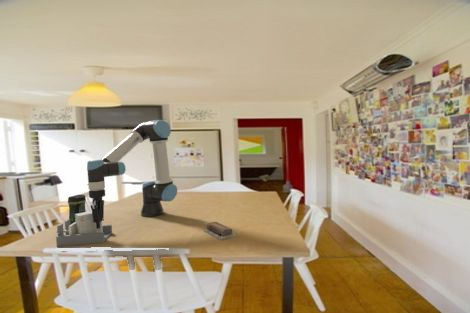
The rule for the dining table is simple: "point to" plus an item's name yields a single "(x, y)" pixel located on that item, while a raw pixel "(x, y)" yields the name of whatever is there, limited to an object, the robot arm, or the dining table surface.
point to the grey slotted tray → (81, 236)
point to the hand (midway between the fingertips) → (99, 233)
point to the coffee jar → (76, 206)
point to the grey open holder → (71, 229)
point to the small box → (85, 223)
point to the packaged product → (219, 231)
